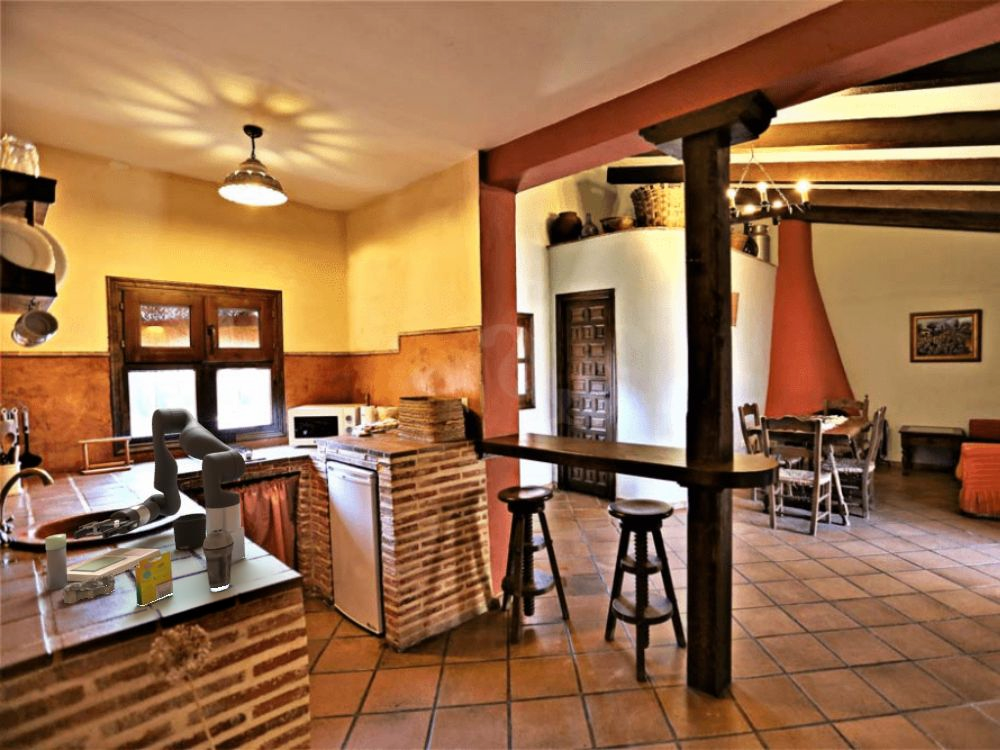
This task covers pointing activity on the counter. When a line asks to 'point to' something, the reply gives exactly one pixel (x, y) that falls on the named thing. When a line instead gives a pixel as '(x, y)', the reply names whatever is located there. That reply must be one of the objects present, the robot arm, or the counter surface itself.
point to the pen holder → (190, 531)
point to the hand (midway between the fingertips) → (89, 535)
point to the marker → (56, 561)
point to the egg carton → (88, 588)
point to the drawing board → (109, 563)
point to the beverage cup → (218, 556)
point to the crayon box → (153, 578)
